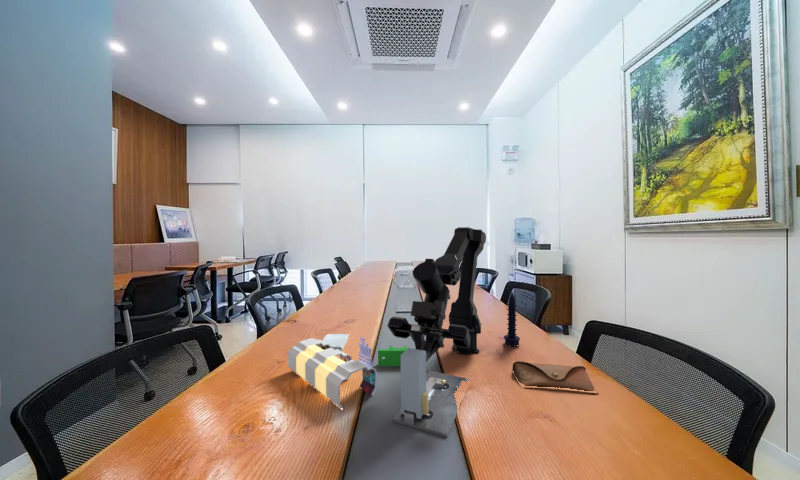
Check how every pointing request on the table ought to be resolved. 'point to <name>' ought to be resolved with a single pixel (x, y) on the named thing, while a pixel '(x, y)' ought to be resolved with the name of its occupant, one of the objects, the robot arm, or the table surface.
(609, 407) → the table surface
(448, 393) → the flange plate
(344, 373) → the diorama
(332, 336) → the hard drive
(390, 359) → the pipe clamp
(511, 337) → the screw
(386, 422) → the table surface
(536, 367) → the sunglasses case
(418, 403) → the gray rectangular block
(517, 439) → the table surface
